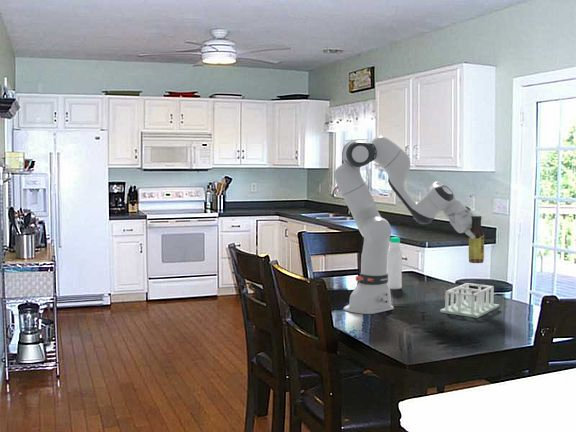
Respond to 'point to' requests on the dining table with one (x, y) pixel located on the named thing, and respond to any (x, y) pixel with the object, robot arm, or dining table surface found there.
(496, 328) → the dining table surface
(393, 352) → the dining table surface
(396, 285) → the water bottle
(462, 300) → the dish rack
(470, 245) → the sauce bottle
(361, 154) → the robot arm
